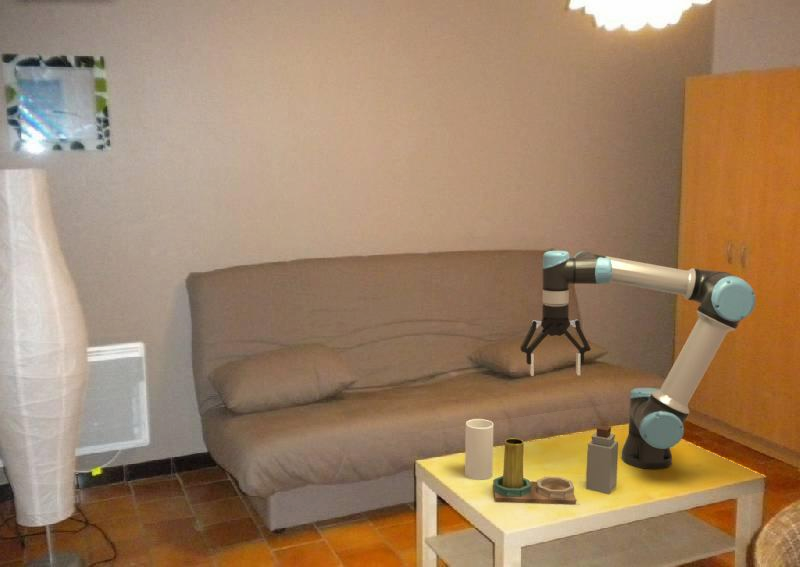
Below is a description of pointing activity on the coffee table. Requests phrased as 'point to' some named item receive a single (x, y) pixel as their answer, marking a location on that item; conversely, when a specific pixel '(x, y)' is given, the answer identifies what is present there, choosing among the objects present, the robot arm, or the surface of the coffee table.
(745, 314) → the robot arm
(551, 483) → the board
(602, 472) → the perfume bottle
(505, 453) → the vase
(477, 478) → the cup
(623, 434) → the coffee table surface
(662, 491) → the coffee table surface
